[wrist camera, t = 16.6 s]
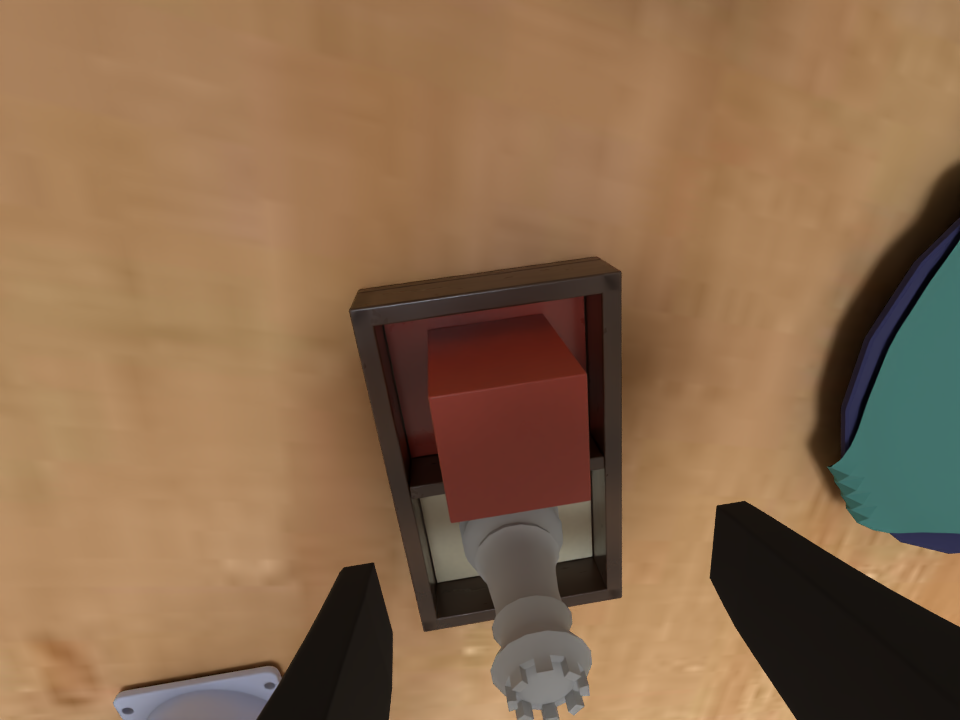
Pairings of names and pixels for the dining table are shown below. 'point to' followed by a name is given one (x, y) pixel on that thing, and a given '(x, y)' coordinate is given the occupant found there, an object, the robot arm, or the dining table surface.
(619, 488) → the tray
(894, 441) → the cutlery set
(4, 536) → the dining table surface
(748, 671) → the dining table surface
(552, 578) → the rook chess piece
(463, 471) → the brick-red block
